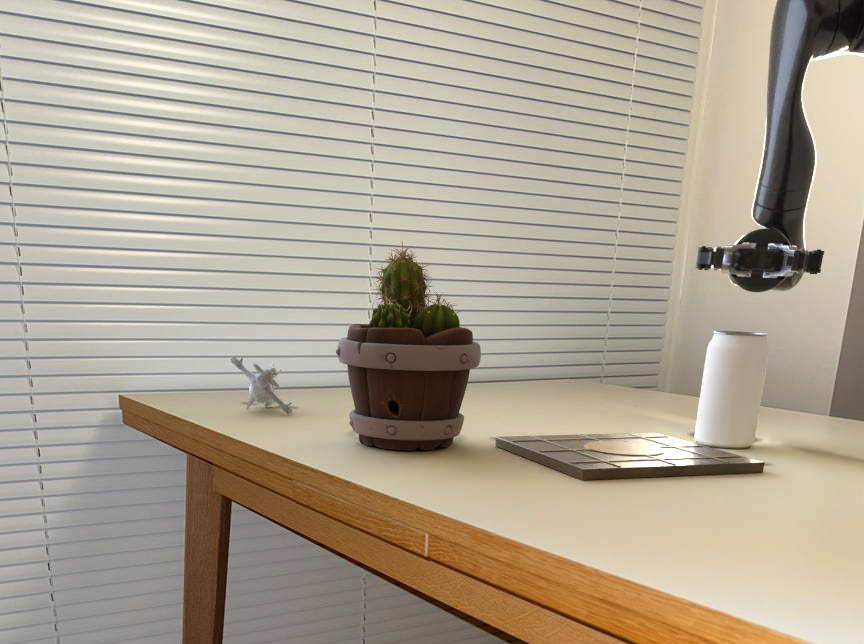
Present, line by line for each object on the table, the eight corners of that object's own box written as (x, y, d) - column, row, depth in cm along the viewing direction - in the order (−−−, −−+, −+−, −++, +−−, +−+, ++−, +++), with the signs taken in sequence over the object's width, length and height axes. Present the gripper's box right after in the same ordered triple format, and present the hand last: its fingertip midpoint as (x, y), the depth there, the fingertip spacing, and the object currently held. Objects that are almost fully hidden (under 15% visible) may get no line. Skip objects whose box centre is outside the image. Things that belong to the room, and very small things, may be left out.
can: (763, 445, 109) (782, 333, 104) (738, 451, 104) (757, 335, 100) (709, 437, 113) (725, 330, 108) (682, 443, 108) (698, 331, 104)
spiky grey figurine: (307, 408, 126) (308, 391, 117) (276, 441, 126) (274, 427, 117) (250, 355, 125) (246, 334, 116) (219, 388, 125) (212, 370, 116)
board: (654, 441, 109) (656, 431, 108) (763, 472, 93) (765, 461, 93) (494, 446, 102) (495, 435, 102) (582, 480, 86) (583, 468, 86)
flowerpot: (492, 456, 96) (508, 240, 89) (340, 455, 94) (343, 233, 87) (461, 433, 110) (473, 243, 103) (327, 431, 108) (329, 238, 100)
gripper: (709, 228, 126) (697, 222, 112) (827, 231, 121) (829, 225, 107) (700, 289, 129) (687, 290, 115) (815, 294, 124) (816, 296, 110)
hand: (756, 259), depth 111 cm, fingers open, 8 cm apart
